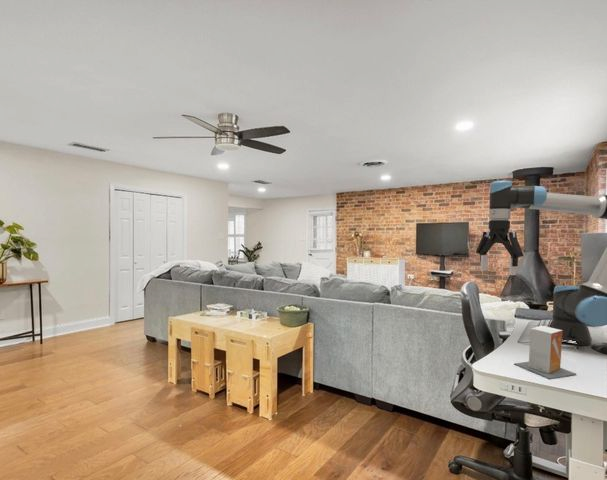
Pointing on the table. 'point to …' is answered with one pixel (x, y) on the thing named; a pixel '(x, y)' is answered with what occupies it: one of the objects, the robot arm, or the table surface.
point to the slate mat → (555, 374)
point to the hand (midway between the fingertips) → (497, 272)
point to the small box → (545, 349)
